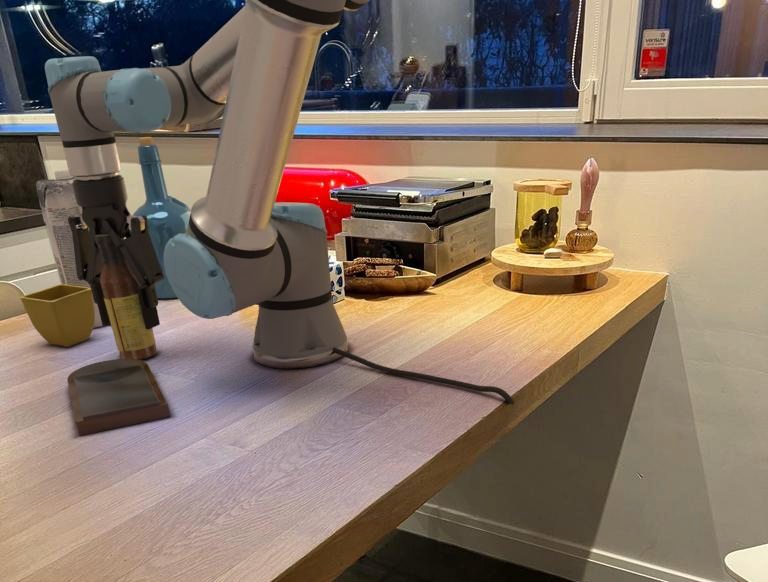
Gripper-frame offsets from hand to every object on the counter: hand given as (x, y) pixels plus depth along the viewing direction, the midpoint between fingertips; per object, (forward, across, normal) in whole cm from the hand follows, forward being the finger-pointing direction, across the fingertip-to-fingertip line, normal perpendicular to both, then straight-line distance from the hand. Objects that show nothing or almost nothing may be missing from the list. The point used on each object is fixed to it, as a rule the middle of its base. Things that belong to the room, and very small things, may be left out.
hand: (131, 324), depth 128 cm
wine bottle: (+6, +20, -37) cm, 42 cm away
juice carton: (+6, +21, -15) cm, 26 cm away
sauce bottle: (+6, 0, 0) cm, 6 cm away
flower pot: (+6, +18, -3) cm, 19 cm away
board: (+5, -9, +16) cm, 19 cm away
